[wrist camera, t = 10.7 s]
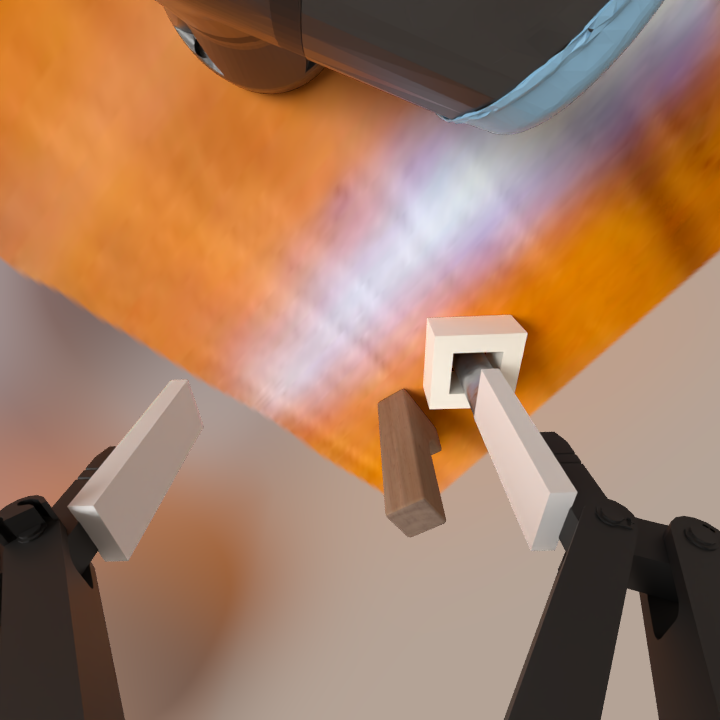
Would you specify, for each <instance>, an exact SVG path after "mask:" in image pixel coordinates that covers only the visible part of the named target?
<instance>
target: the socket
mask: <svg viewBox="0 0 720 720" xmlns="http://www.w3.org/2000/svg"><path fill="white" fill-rule="evenodd" d="M527 334H528V333H527V332H526V331H525V330H524V329H523V328H522V326H521V325H520V324H519V323H518V322H517V321H516V320H515V319H514V318H513V317H512V316H511V315H491V316H464V317H436V318H427V332H426V349H425V366H424V382H423V387H424V391H425V395H426V398H427V402H428V406H429V409H456V408H471V407H470V405H469V403H468V400H467V398H466V396H465V393H464V391H463V389H462V386H461V384H460V382H459V379H458V377H457V375H456V373H455V371H452V361H453V353H476V352H486V357H487V359H488V361H489V362H490V364H491V365H492V367H493V369H499V370H500V371H501V373H502V374H503V376H504V378H505V379H506V381H507V382H508V384H509V385H510V387H511V389H512V390H513V392H514V393H515V389H516V384H517V379H518V375H519V370H520V366H521V361H522V356H523V352H524V347H525V343H526V338H527ZM451 371H452V372H451Z"/></svg>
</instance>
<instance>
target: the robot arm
mask: <svg viewBox="0 0 720 720" xmlns="http://www.w3.org/2000/svg"><path fill="white" fill-rule="evenodd" d="M155 1H157V2H158V3H159V4H161V5H162V6H164V9H165V11H166V13H167V15H168V17H169V19H170V21H171V22H172V24H173V26H174V27H175V29H176V31H177V32H178V34H179V35H180V37H181V38H182V39H183V41H184V42H185V44H186V45H187V46H188V47H189V49H190V50H191V51H192V52H193V53H194V54H195V55H196V56H197V58H198V59H199V60H200V61H202V62H203V63H204V64H205V65H206V66H207V67H208V68H209V69H211V70H212V71H213V72H215V73H216V74H217V75H219V76H220V77H222V78H224V79H225V80H227V81H229V82H231V83H233V84H235V85H237V86H239V87H241V88H244V89H246V90H249V91H253V92H258V93H266V94H275V93H282V92H287V91H291V90H293V89H296V88H298V87H300V86H302V85H304V84H306V83H307V82H309V81H310V80H312V79H313V78H314V77H315V76H316V75H318V74H319V73H320V72H321V71H322V70H323V69H324V67H327V68H329V69H332V70H334V71H336V72H339V73H341V74H344V75H346V76H348V77H351V78H353V79H356V80H358V81H360V82H363V83H365V84H367V85H370V86H372V87H375V88H377V89H379V90H382V91H384V92H387V93H389V94H391V95H394V96H396V97H399V98H401V99H403V100H406V101H408V102H411V103H413V104H415V105H418V106H420V107H423V108H425V109H427V110H430V111H432V112H435V113H436V115H437V116H438V117H439V118H441V119H443V120H444V121H446V122H453V123H455V124H460V123H466V124H468V125H471V126H474V127H477V128H480V129H483V130H486V131H489V132H492V133H495V134H515V133H520V132H523V131H526V130H528V129H531V128H533V127H536V126H538V125H540V124H542V123H543V122H545V121H547V120H548V119H550V118H551V117H553V116H554V115H556V114H557V113H559V112H560V111H562V110H563V109H564V108H566V107H567V106H568V105H569V104H571V103H572V102H573V101H574V100H575V99H577V98H578V97H579V96H580V95H581V94H582V93H583V92H585V91H586V90H587V89H588V88H589V87H590V86H591V85H592V84H593V83H594V82H595V81H596V80H597V79H598V78H599V77H600V76H601V75H602V74H603V73H604V72H605V71H606V70H607V69H608V68H609V67H610V66H611V65H612V64H613V63H614V62H615V61H616V60H617V59H618V57H619V56H620V55H621V54H622V53H623V52H624V51H625V50H626V49H627V47H628V46H629V45H630V44H631V43H632V42H633V40H634V39H635V38H636V37H637V36H638V34H639V33H640V32H641V30H642V29H643V28H644V27H645V25H646V24H647V23H648V22H649V20H650V19H651V18H652V16H653V15H654V14H655V12H656V11H657V10H658V8H659V7H660V6H661V4H662V3H663V2H664V0H155ZM474 419H475V422H476V424H477V426H478V429H479V431H480V433H481V436H482V438H483V440H484V443H485V445H486V447H487V450H488V452H489V454H490V457H491V459H492V461H493V464H494V466H495V468H496V471H497V473H498V475H499V478H500V480H501V482H502V485H503V487H504V489H505V492H506V494H507V496H508V499H509V501H510V504H511V506H512V508H513V511H514V513H515V515H516V517H517V520H518V522H519V524H520V527H521V529H522V532H523V534H524V536H525V539H526V541H527V543H528V545H529V548H530V550H531V551H545V550H555V548H556V546H557V543H558V541H559V539H560V541H561V543H562V545H563V547H564V549H565V551H566V552H565V554H564V556H563V559H562V561H561V564H560V566H559V568H558V573H557V576H556V578H555V581H554V584H553V587H552V589H551V592H550V595H549V598H548V600H547V603H546V606H545V609H544V611H543V614H542V617H541V619H540V622H539V625H538V628H537V630H536V633H535V636H534V639H533V641H532V644H531V647H530V650H529V653H528V655H527V658H526V660H525V664H524V666H523V669H522V671H521V674H520V677H519V680H518V682H517V685H516V688H515V690H514V693H513V696H512V699H511V701H510V704H509V707H508V710H507V713H506V715H505V718H504V720H601V715H602V710H603V704H604V700H605V695H606V690H607V685H608V680H609V675H610V670H611V665H612V660H613V655H614V650H615V645H616V640H617V635H618V629H619V625H620V620H621V615H622V610H623V605H624V600H625V595H626V590H627V588H628V589H631V590H635V591H638V592H639V593H640V600H641V605H642V613H643V619H644V625H645V631H646V638H647V645H648V651H649V658H650V664H651V670H652V677H653V684H654V690H655V696H656V703H657V709H658V716H659V720H720V531H719V530H718V529H716V528H714V527H713V526H711V525H710V524H708V523H706V522H704V521H701V520H698V519H696V518H692V517H686V516H681V517H676V518H675V519H674V520H672V521H671V523H670V524H669V526H668V525H664V524H659V523H655V522H651V521H647V520H642V519H639V518H636V517H634V515H633V514H632V513H631V512H630V511H629V510H628V509H627V508H626V507H624V506H622V505H621V504H619V503H617V502H616V501H613V500H610V499H607V497H606V496H605V494H604V493H603V492H602V490H601V489H600V487H599V486H598V485H597V483H596V482H595V480H594V479H593V478H592V476H591V475H590V473H589V472H588V471H587V469H586V468H585V466H584V465H583V464H581V461H580V459H579V458H578V456H577V455H575V453H574V451H573V450H572V448H571V447H570V445H569V444H568V442H566V440H564V439H563V438H562V437H560V436H559V435H558V434H556V433H555V432H539V431H538V429H537V428H536V426H535V425H534V423H533V422H532V420H531V418H530V417H529V415H528V414H527V412H526V411H525V409H524V407H523V406H522V404H521V403H520V401H519V400H518V398H517V396H516V395H515V393H514V392H513V390H512V389H511V387H510V385H509V384H508V382H507V381H506V379H505V378H504V376H503V374H502V373H501V371H500V370H499V369H481V375H480V381H479V388H478V395H477V401H476V408H475V414H474ZM203 427H204V426H203V423H202V420H201V417H200V414H199V411H198V408H197V405H196V402H195V399H194V396H193V393H192V390H191V387H190V384H189V381H188V380H171V381H170V382H169V383H168V384H167V386H166V387H165V388H164V389H163V391H162V392H161V393H160V394H159V395H158V397H157V398H156V399H155V400H154V401H153V403H152V404H151V405H150V406H149V408H148V409H147V410H146V411H145V413H144V414H143V415H142V416H141V417H140V419H139V420H138V421H137V422H136V423H135V425H134V426H133V427H132V428H131V430H130V431H129V432H128V433H127V434H126V436H125V437H124V438H123V439H122V441H121V442H120V443H119V444H118V445H117V446H114V447H108V448H107V449H106V450H104V451H103V452H102V453H100V454H99V455H97V456H96V457H95V458H94V459H93V460H92V462H91V463H90V464H89V465H88V466H87V468H86V470H84V471H83V472H82V473H81V474H80V476H79V477H78V480H75V481H74V482H73V484H72V485H71V486H70V487H69V488H68V489H67V491H66V492H65V493H64V494H63V495H62V496H61V498H60V499H59V500H58V501H57V502H56V504H55V505H54V506H53V507H52V508H51V506H50V505H49V504H48V502H47V501H46V500H45V498H44V497H42V496H38V495H35V496H28V497H25V498H22V499H19V500H17V501H15V502H13V503H11V504H9V505H7V506H6V507H4V508H3V509H2V510H1V511H0V720H125V718H124V713H123V708H122V703H121V698H120V693H119V688H118V683H117V678H116V673H115V668H114V663H113V658H112V653H111V648H110V643H109V638H108V633H107V628H106V622H105V617H104V613H103V608H102V602H101V597H100V592H99V588H98V582H97V577H96V572H95V568H94V566H93V564H92V563H91V561H92V559H93V557H94V556H95V554H96V553H97V551H98V552H99V553H100V555H101V556H102V558H103V559H104V560H105V561H128V560H129V558H130V557H131V555H132V553H133V551H134V549H135V548H136V546H137V544H138V543H139V541H140V539H141V537H142V535H143V534H144V532H145V530H146V528H147V527H148V525H149V523H150V521H151V519H152V518H153V516H154V514H155V512H156V510H157V509H158V507H159V505H160V504H161V502H162V500H163V498H164V496H165V495H166V493H167V491H168V489H169V488H170V486H171V484H172V482H173V480H174V479H175V477H176V475H177V473H178V472H179V470H180V468H181V466H182V464H183V463H184V461H185V459H186V457H187V456H188V454H189V452H190V450H191V448H192V447H193V445H194V443H195V441H196V440H197V438H198V436H199V434H200V432H201V431H202V429H203Z"/></svg>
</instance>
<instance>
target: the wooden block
mask: <svg viewBox="0 0 720 720" xmlns="http://www.w3.org/2000/svg"><path fill="white" fill-rule="evenodd" d="M378 415H379V429H380V443H381V457H382V471H383V485H384V499H385V513H386V516H387V517H388V519H389V520H390V521H392V522H393V523H394V524H395V525H396V526H397V527H398V528H399V529H400V530H401V531H402V532H403V533H404V534H405V535H406V536H407V537H413V536H415V535H418V534H420V533H423V532H425V531H427V530H429V529H432V528H435V527H437V526H439V525H442V524H444V523H445V522H446V517H445V513H444V509H443V504H442V501H441V496H440V492H439V487H438V483H437V479H436V475H435V470H434V466H433V462H432V457H431V455H433V454H435V453H437V452H439V451H441V445H440V441H439V437H438V434H437V430H436V428H435V427H434V425H433V424H432V423H431V422H430V420H429V419H428V418H427V416H426V415H425V414H424V413H423V411H422V410H421V409H420V408H419V406H418V405H417V404H416V403H415V401H414V400H413V399H412V398H411V396H410V395H409V394H408V393H407V391H406V390H405V389H402V390H400V391H398V392H396V393H395V394H393V395H391V396H389V397H387V398H386V399H384V400H382V401H380V402H379V403H378Z"/></svg>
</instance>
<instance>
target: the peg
mask: <svg viewBox="0 0 720 720" xmlns="http://www.w3.org/2000/svg"><path fill="white" fill-rule="evenodd" d="M452 366H453V368H454V370H455V373H456V375H457V377H458V379H459V382H460V384H461V386H462V389H463V391H464V393H465V396H466V398H467V400H468V403H469V405H470V407H471V410H472V412H473V414H475V408H476V401H477V395H478V388H479V381H480V375H481V369H493V367H492V365H491V364H490V362H489V361H488V359H487V357H486V356H485V354H484V352H476V353H453V361H452Z"/></svg>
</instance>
